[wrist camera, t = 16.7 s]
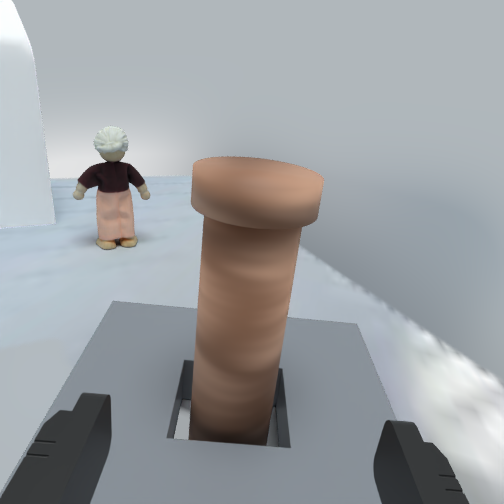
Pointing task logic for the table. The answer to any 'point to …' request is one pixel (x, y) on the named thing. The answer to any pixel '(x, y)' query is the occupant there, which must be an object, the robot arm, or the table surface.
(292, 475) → the socket block
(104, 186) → the grandmother figurine
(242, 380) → the headed peg
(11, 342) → the table surface
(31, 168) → the milk
